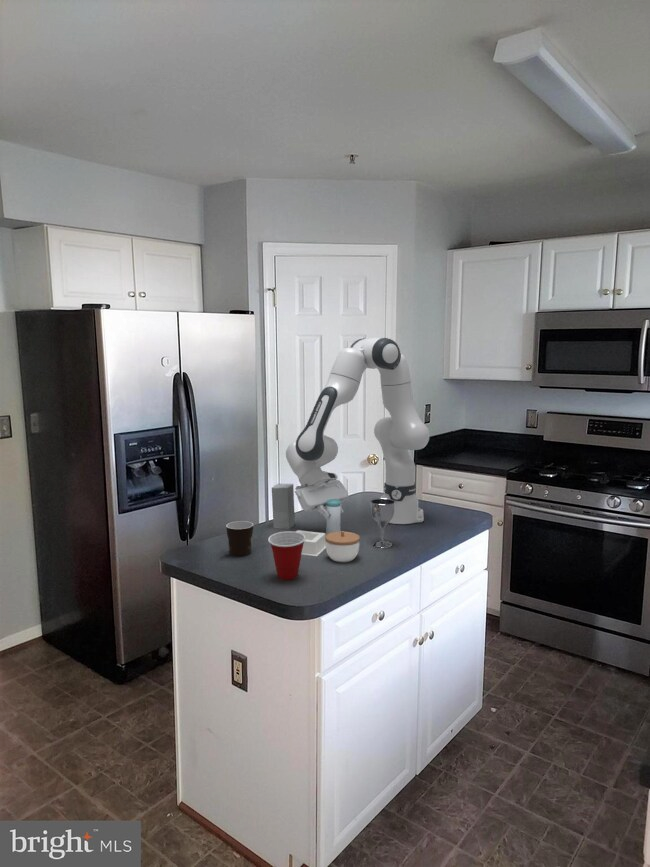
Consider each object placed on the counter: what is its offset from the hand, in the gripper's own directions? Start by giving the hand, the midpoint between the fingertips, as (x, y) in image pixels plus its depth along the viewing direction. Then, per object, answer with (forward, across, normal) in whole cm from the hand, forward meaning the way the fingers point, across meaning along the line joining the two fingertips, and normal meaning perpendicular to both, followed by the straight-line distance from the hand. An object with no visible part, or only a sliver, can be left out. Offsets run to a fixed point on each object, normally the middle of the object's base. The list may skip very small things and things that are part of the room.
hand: (334, 515), depth 206 cm
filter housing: (+6, -13, +7) cm, 16 cm away
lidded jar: (+17, -11, -3) cm, 20 cm away
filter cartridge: (+4, 0, +6) cm, 7 cm away
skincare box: (-11, -1, +24) cm, 27 cm away
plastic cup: (+15, -32, -2) cm, 36 cm away
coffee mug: (-2, -30, +16) cm, 34 cm away
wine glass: (+16, +9, -3) cm, 19 cm away
